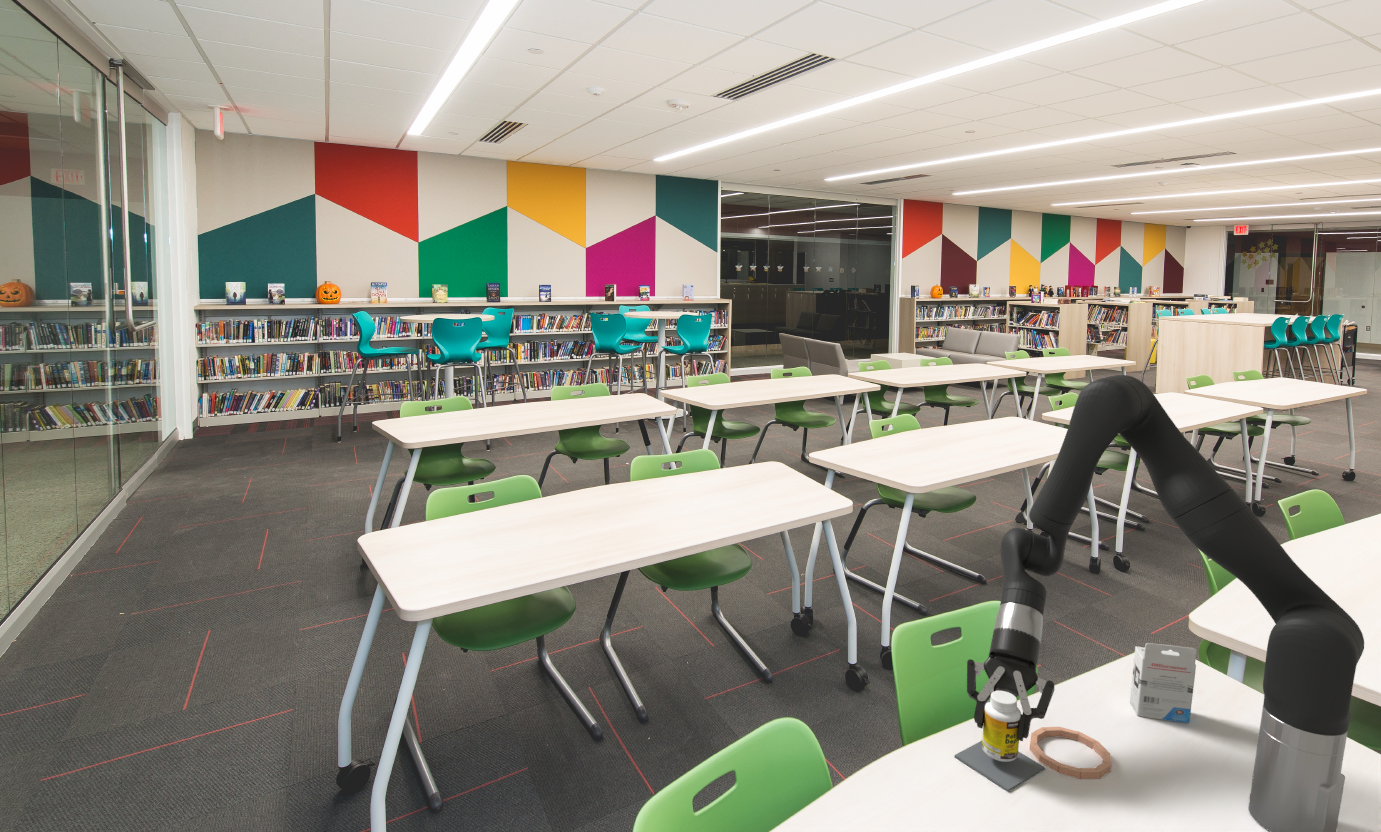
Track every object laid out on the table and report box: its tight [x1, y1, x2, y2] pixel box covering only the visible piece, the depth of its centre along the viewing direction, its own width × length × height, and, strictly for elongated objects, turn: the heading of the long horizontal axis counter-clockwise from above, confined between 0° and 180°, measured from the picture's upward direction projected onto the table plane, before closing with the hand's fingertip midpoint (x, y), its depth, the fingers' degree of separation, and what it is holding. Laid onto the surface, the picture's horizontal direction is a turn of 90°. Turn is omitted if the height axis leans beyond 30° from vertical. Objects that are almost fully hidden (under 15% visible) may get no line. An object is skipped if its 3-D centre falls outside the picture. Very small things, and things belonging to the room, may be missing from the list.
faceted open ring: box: [1029, 726, 1112, 780], centre depth 118 cm, size 12×12×1 cm
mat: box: [954, 740, 1046, 793], centre depth 117 cm, size 10×10×1 cm
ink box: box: [1129, 642, 1198, 724], centre depth 129 cm, size 9×5×15 cm, turn 73°
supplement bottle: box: [981, 691, 1022, 762], centre depth 116 cm, size 6×6×10 cm
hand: (999, 732), depth 114 cm, fingers closed on supplement bottle, 5 cm apart
